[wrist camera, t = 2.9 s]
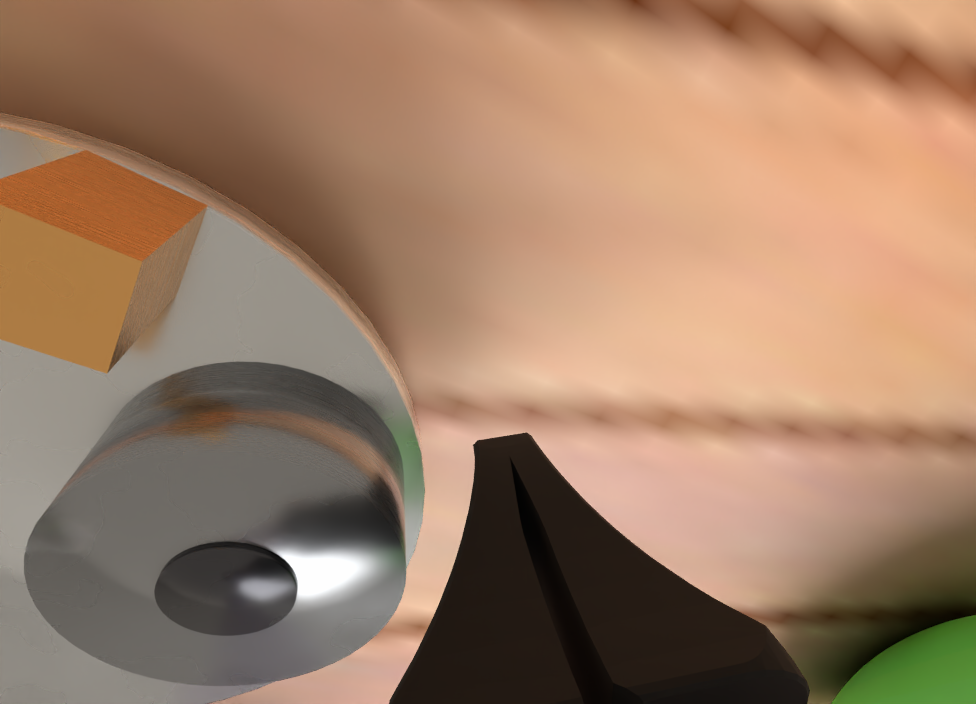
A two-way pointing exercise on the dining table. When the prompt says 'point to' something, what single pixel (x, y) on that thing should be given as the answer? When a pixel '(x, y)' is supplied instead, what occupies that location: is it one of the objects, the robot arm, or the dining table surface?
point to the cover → (227, 530)
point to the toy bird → (920, 669)
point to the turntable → (140, 352)
